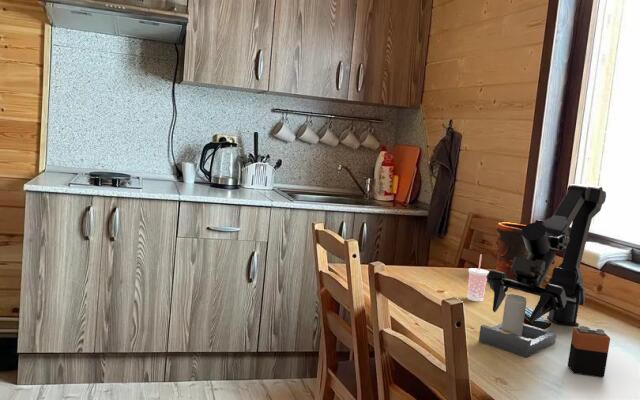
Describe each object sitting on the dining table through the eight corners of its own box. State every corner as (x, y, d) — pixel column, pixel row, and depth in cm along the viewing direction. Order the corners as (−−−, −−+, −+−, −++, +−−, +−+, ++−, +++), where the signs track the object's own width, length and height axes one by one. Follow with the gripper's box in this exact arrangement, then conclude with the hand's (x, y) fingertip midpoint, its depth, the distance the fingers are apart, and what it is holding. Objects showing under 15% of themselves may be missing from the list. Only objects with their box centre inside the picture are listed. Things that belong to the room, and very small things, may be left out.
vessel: (497, 272, 233) (506, 220, 230) (535, 282, 225) (545, 228, 222) (483, 278, 221) (491, 223, 218) (522, 288, 213) (532, 231, 210)
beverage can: (524, 348, 149) (531, 300, 147) (506, 349, 147) (513, 299, 146) (512, 341, 153) (518, 294, 152) (495, 341, 152) (501, 294, 150)
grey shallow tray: (509, 328, 164) (512, 313, 163) (555, 342, 156) (557, 326, 155) (477, 342, 150) (479, 325, 150) (525, 358, 142) (527, 340, 142)
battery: (566, 366, 140) (573, 323, 139) (598, 370, 139) (605, 327, 138) (572, 373, 136) (579, 329, 134) (604, 378, 135) (611, 333, 134)
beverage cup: (480, 303, 187) (486, 257, 185) (461, 298, 190) (467, 253, 189) (488, 300, 192) (494, 255, 190) (469, 295, 195) (475, 251, 194)
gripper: (494, 238, 156) (467, 286, 149) (569, 253, 144) (544, 307, 137) (504, 265, 163) (479, 313, 156) (576, 282, 151) (552, 335, 144)
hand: (511, 316), depth 148 cm, fingers open, 9 cm apart
